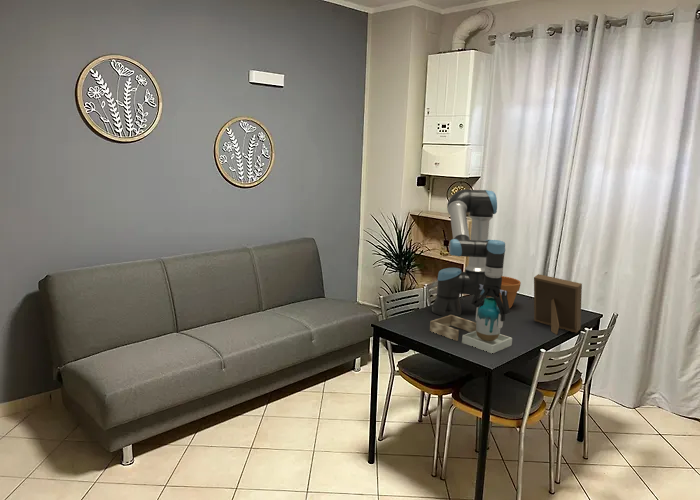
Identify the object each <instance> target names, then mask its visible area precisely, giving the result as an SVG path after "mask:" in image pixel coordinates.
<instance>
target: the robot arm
mask: <svg viewBox="0 0 700 500" xmlns="http://www.w3.org/2000/svg"><path fill="white" fill-rule="evenodd" d="M446 205H447V206H446V207H447V208H446V209H447V213H448V214H449V215H450V217H449V218H450V225H451V231H452V232H451V233H452V239H451V240H450V241H449V244H448V245H449V247H448V248H449V249H448V251H449V252H448V253H449V254H450V256H453V257H464V258H465V257H467V258H468V265H467V266H466V267H465V268H464V269H465V270H464V271H462V269H461V268H458V267H447V268H443V269H442V268H441V270H439V271H438V274H437V284H436V285H437V286H436V296H435V299H434V302H433V304H432V307H431V312H432V313H434V314H435V315H438V316H442V317H445V316H448V315H454V316H457V317H459V316H460V315H461V314H462V307H461V303H460V295H473V298H472V301H471V304H472V305H473V306H474V313H475V321H474V322H476V321H477V313H478V309H479V307H480V306H482V304H483V303H484V300H485V298H486V297H487V296H490V297H493V298H494V300H495V301H496V303H497V306H498V308H499V310H500V314H499V317H498V327H497V328H501V329H502V328H503V325H504V321H505V320H506V315H507V314H511V313H510V312H511V311H510V310H511V308H509V304H508V299H507V290H506V291H504V290H501V285H502V277H501V276H503V273H504V264H505V253H506V243H505V241H503V240H500V239H489V229H490V221H491V219H493V216H494V215H495V214H497V212H498V200H497V195H496V193H495V192H494V191H493V190H488V189H465V188H464V189H460V190H458V191H456V192H454V193H453V194H452V195H451V197H450V198H449V200H448V201H447V204H446ZM467 213H468V214H469V217H470V219H471V230H470V231H469V226H468V219H467ZM469 232H470V233H469ZM500 293H501V295H502V301H501V297H500ZM502 302H503V303H502Z"/></svg>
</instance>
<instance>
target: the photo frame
mask: <svg viewBox="0 0 700 500" xmlns="http://www.w3.org/2000/svg"><path fill="white" fill-rule="evenodd" d="M582 288H583V283H581V282H576V281H572V280H566V279H562V278H558V277H554V276H549V275H545V274H540V273H538V274H536V275H535V276H534V277H533V312H534V313H533V314H534V315H533V317H534V318H533V319H534V320H533V321H534V322H537V323H541V324H544V325H548V326H550V332H551V333H553V334H555V335H558V333H559V329H561V330H564V329H565V331H569V332H571V333H575V334H577V333H579V331H580V330H581V328H582V321H581V320H582V293H583V292H582V291H583V289H582Z"/></svg>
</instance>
